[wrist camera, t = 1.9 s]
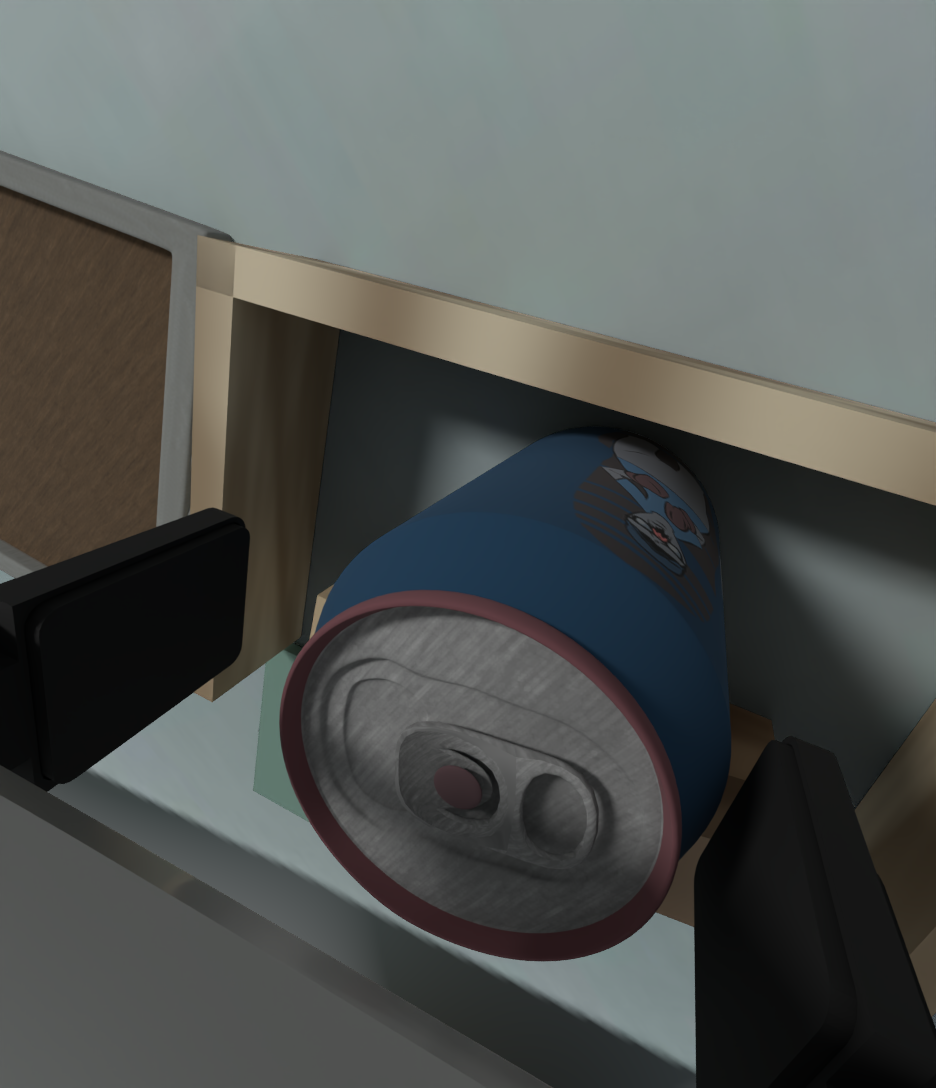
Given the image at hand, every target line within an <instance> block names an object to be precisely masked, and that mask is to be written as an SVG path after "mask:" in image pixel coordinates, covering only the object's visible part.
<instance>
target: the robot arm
mask: <svg viewBox="0 0 936 1088" xmlns="http://www.w3.org/2000/svg"><path fill="white" fill-rule="evenodd" d="M249 547H250V533H249V531H248V530H247V529H246V527H245V523H244V521H243V520H242V519H241V518H240V517H237V516H235V515H232V514H230V513H227V512H225V511H222V510H220V509H217V508H213V507H212V508H207V509H204V510H202V511H199V512H196V513H193V514H191V515H188V516H185V517H182V518H180V519H177V520H174V521H171V522H169V523H166V524H163V525H160V526H158V527H155V528H152V529H149V530H147V531H144V532H141V533H139V534H136V535H133V536H130V537H128V538H125V539H122V540H119V541H117V542H114V543H111V544H108V545H106V546H103V547H100V548H97V549H95V550H92V551H89V552H86V553H84V554H81V555H78V556H76V557H73V558H70V559H67V560H65V561H62V562H59V563H56V564H54V565H51V566H48V567H45V568H43V569H40V570H37V571H34V572H32V573H29V574H26V575H23V576H21V577H18V578H15V579H13V580H10V581H7V582H4V583H2V584H0V1088H552V1087H551V1086H549V1085H547V1084H546V1083H544V1082H542V1081H541V1080H539V1079H537V1078H536V1077H534V1076H532V1075H531V1074H529V1073H527V1072H526V1071H524V1070H522V1069H520V1068H519V1067H517V1066H515V1065H513V1064H512V1063H510V1062H509V1061H507V1060H505V1059H503V1058H502V1057H500V1056H498V1055H497V1054H495V1053H493V1052H492V1051H490V1050H488V1049H486V1048H485V1047H483V1046H481V1045H480V1044H478V1043H476V1042H475V1041H473V1040H471V1039H470V1038H468V1037H466V1036H464V1035H463V1034H461V1033H459V1032H458V1031H456V1030H454V1029H452V1028H451V1027H449V1026H448V1025H446V1024H444V1023H443V1022H441V1021H439V1020H437V1019H436V1018H434V1017H432V1016H431V1015H429V1014H427V1013H426V1012H424V1011H422V1010H420V1009H419V1008H417V1007H415V1006H414V1005H412V1004H410V1003H409V1002H407V1001H405V1000H404V999H402V998H400V997H398V996H397V995H395V994H393V993H392V992H390V991H388V990H387V989H385V988H383V987H381V986H380V985H378V984H376V983H375V982H373V981H371V980H370V979H368V978H366V977H365V976H363V975H361V974H359V973H358V972H356V971H354V970H353V969H351V968H349V967H347V966H346V965H344V964H343V963H341V962H339V961H337V960H336V959H334V958H332V957H331V956H329V955H327V954H325V953H324V952H322V951H320V950H319V949H317V948H315V947H313V946H312V945H310V944H308V943H307V942H305V941H303V940H301V939H300V938H298V937H296V936H294V935H293V934H291V933H289V932H288V931H286V930H284V929H283V928H281V927H279V926H277V925H275V924H274V923H272V922H271V921H269V920H267V919H266V918H264V917H262V916H260V915H259V914H257V913H255V912H253V911H252V910H250V909H248V908H247V907H245V906H243V905H241V904H240V903H238V902H236V901H235V900H233V899H231V898H230V897H228V896H226V895H224V894H223V893H221V892H219V891H217V890H216V889H214V888H212V887H211V886H209V885H207V884H205V883H204V882H202V881H200V880H198V879H197V878H195V877H193V876H192V875H190V874H188V873H187V872H185V871H183V870H181V869H180V868H178V867H176V866H174V865H173V864H171V863H169V862H168V861H166V860H164V859H162V858H160V857H159V856H157V855H156V854H154V853H152V852H150V851H149V850H147V849H145V848H144V847H142V846H140V845H138V844H137V843H135V842H133V841H131V840H130V839H128V838H126V837H125V836H123V835H121V834H119V833H117V832H115V831H114V830H112V829H110V828H109V827H107V826H105V825H104V824H102V823H100V822H98V821H97V820H95V819H93V818H91V817H90V816H88V815H86V814H84V813H83V812H81V811H79V810H78V809H76V808H74V807H72V806H71V805H69V804H67V803H65V802H64V801H62V800H60V799H58V798H57V797H55V796H53V795H51V794H50V793H48V792H47V791H49V790H50V789H52V788H53V787H54V786H56V785H57V784H65V783H67V782H70V781H72V780H73V779H75V778H77V777H78V776H79V775H81V774H82V773H83V772H85V771H86V770H88V769H89V768H90V767H92V766H93V765H94V764H96V763H97V762H99V761H100V760H101V759H103V758H104V757H105V756H107V755H108V754H110V753H111V752H112V751H114V750H115V749H116V748H118V747H119V746H121V745H122V744H123V743H125V742H126V741H127V740H129V739H130V738H132V737H133V736H134V735H136V734H137V733H138V732H140V731H141V730H143V729H144V728H145V727H147V726H148V725H149V724H151V723H152V722H154V721H155V720H156V719H158V718H159V717H160V716H162V715H163V714H165V713H166V712H167V711H169V710H170V709H171V708H173V707H174V706H176V705H177V704H178V703H180V702H181V701H182V700H184V699H185V698H187V697H188V696H189V695H191V694H192V693H193V692H195V691H196V690H197V689H199V688H200V687H202V686H203V685H204V684H206V683H207V682H208V681H210V680H211V679H213V678H214V677H215V676H217V675H218V674H219V673H221V672H222V671H224V670H225V669H226V668H228V667H229V666H230V665H232V664H233V663H234V662H235V660H236V659H237V658H238V656H239V654H240V652H241V649H242V641H243V627H244V614H245V600H246V587H247V574H248V560H249ZM694 939H695V1017H696V1088H936V1028H935V1025H934V1023H933V1020H932V1017H931V1014H930V1011H929V1009H928V1006H927V1003H926V1000H925V997H924V995H923V992H922V989H921V986H920V984H919V981H918V978H917V975H916V972H915V970H914V967H913V964H912V961H911V958H910V956H909V953H908V950H907V947H906V944H905V942H904V939H903V936H902V933H901V930H900V928H899V925H898V922H897V919H896V916H895V914H894V911H893V908H892V905H891V903H890V900H889V897H888V894H887V891H886V889H885V886H884V884H883V882H882V880H881V878H880V876H879V875H878V874H877V873H876V870H875V867H874V864H873V861H872V859H871V856H870V853H869V850H868V847H867V844H866V841H865V839H864V836H863V833H862V830H861V827H860V824H859V822H858V819H857V816H856V813H855V810H854V807H853V805H852V802H851V799H850V796H849V793H848V790H847V787H846V785H845V782H844V779H843V776H842V773H841V770H840V768H839V765H838V762H837V759H836V757H835V755H834V754H833V753H832V752H830V751H827V750H825V749H822V748H820V747H817V746H815V745H812V744H810V743H807V742H805V741H802V740H800V739H797V738H795V737H792V736H790V737H787V738H786V739H785V740H783V742H782V743H781V742H778V741H776V740H771V741H770V742H769V743H768V744H767V745H766V747H765V748H764V750H763V752H762V753H761V755H760V757H759V758H758V760H757V762H756V763H755V765H754V767H753V768H752V770H751V772H750V774H749V775H748V777H747V779H746V780H745V782H744V784H743V785H742V787H741V789H740V790H739V792H738V794H737V795H736V797H735V799H734V800H733V802H732V804H731V805H730V807H729V809H728V810H727V812H726V814H725V815H724V817H723V819H722V821H721V822H720V824H719V826H718V827H717V829H716V831H715V832H714V834H713V836H712V837H711V839H710V841H709V842H708V844H707V846H706V847H705V849H704V851H703V852H702V854H701V856H700V858H699V860H698V863H697V866H696V870H695V875H694Z"/></svg>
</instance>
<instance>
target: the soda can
mask: <svg viewBox="0 0 936 1088" xmlns="http://www.w3.org/2000/svg"><path fill="white" fill-rule="evenodd" d="M279 728H280V741H281V748H282V753H283V758H284V762H285V766H286V770H287V773H288V776H289V779H290V782H291V785H292V787H293V790H294V792H295V795H296V797H297V799H298V801H299V803H300V805H301V807H302V809H303V811H304V813H305V815H306V817H307V818H308V820H309V822H310V823H311V825H312V827H313V828H314V830H315V831H316V833H317V834H318V836H319V837H320V839H321V840H322V841H323V843H324V844H325V845H326V847H327V848H328V849H329V851H330V852H331V853H332V854H333V856H334V857H335V858H336V859H337V860H338V861H339V863H340V864H341V865H342V866H343V867H344V868H345V869H346V870H347V872H348V873H349V874H350V875H351V876H352V877H353V878H354V879H355V880H356V881H357V882H358V883H359V884H360V885H361V886H362V887H363V888H364V889H366V890H367V891H368V892H369V893H370V894H371V895H372V896H373V897H374V898H376V899H377V900H378V901H379V902H380V903H382V904H383V905H384V906H385V907H387V908H388V909H390V910H391V911H392V912H394V913H395V914H397V915H398V916H400V917H401V918H403V919H404V920H406V921H408V922H410V923H411V924H413V925H415V926H417V927H419V928H421V929H423V930H425V931H427V932H429V933H431V934H433V935H435V936H437V937H440V938H442V939H444V940H447V941H449V942H452V943H454V944H457V945H460V946H463V947H466V948H468V949H471V950H475V951H478V952H482V953H485V954H489V955H494V956H498V957H503V958H509V959H516V960H525V961H560V960H569V959H575V958H580V957H585V956H588V955H592V954H595V953H598V952H601V951H604V950H606V949H609V948H611V947H613V946H615V945H617V944H619V943H621V942H622V941H624V940H625V939H627V938H629V937H630V936H632V935H633V934H634V933H635V932H637V931H638V930H639V929H640V928H642V927H643V926H644V925H645V924H646V923H647V922H648V920H649V919H650V918H651V917H652V916H653V915H654V914H655V912H656V911H657V910H658V908H659V907H660V906H661V904H662V902H663V901H664V899H665V897H666V896H667V894H668V891H669V889H670V887H671V885H672V882H673V879H674V876H675V873H676V869H677V866H678V861H679V860H680V859H681V858H682V857H683V856H684V855H685V854H686V853H687V852H688V851H689V849H690V848H691V847H692V846H693V845H694V844H695V843H696V842H697V840H698V839H699V838H700V836H701V835H702V834H703V832H704V831H705V830H706V828H707V827H708V825H709V823H710V822H711V820H712V818H713V817H714V815H715V813H716V811H717V809H718V806H719V804H720V802H721V799H722V796H723V793H724V790H725V787H726V784H727V779H728V775H729V770H730V761H731V724H730V707H729V691H728V674H727V657H726V641H725V624H724V608H723V591H722V574H721V558H720V541H719V530H718V524H717V519H716V516H715V512H714V509H713V506H712V504H711V501H710V499H709V497H708V495H707V493H706V491H705V489H704V488H703V486H702V484H701V483H700V481H699V480H698V479H697V477H696V476H695V474H694V473H693V472H692V471H691V470H690V469H689V467H688V466H687V465H686V464H685V463H684V462H683V461H682V460H680V459H679V458H678V457H677V456H676V455H674V454H673V453H672V452H670V451H669V450H668V449H666V448H665V447H663V446H661V445H660V444H658V443H656V442H655V441H653V440H650V439H648V438H646V437H644V436H641V435H639V434H636V433H633V432H630V431H626V430H621V429H617V428H610V427H579V428H573V429H567V430H564V431H560V432H557V433H554V434H551V435H548V436H546V437H544V438H542V439H540V440H538V441H536V442H534V443H533V444H531V445H529V446H528V447H526V448H524V449H523V450H521V451H520V452H518V453H516V454H515V455H513V456H511V457H510V458H508V459H506V460H505V461H503V462H502V463H500V464H498V465H497V466H495V467H493V468H492V469H490V470H489V471H487V472H485V473H484V474H482V475H480V476H479V477H477V478H476V479H474V480H472V481H471V482H469V483H467V484H466V485H464V486H463V487H461V488H459V489H458V490H456V491H454V492H453V493H451V494H450V495H448V496H446V497H445V498H443V499H441V500H440V501H438V502H437V503H435V504H433V505H432V506H430V507H428V508H427V509H425V510H424V511H422V512H420V513H419V514H417V515H415V516H414V517H412V518H411V519H409V520H407V521H406V522H404V523H402V524H401V525H399V526H398V527H396V528H394V529H393V530H391V531H389V532H388V533H386V534H385V535H383V536H381V537H380V538H378V539H377V540H375V541H374V542H372V543H371V544H370V545H369V546H367V547H366V548H365V549H364V550H362V551H361V552H360V553H359V554H358V555H357V556H356V557H355V558H354V559H353V560H352V561H351V562H350V563H349V565H348V566H347V567H346V568H345V569H344V571H343V572H342V573H341V575H340V576H339V578H338V579H337V581H336V582H335V584H334V586H333V587H332V589H331V591H330V593H329V595H328V597H327V599H326V602H325V604H324V606H323V609H322V612H321V615H320V618H319V621H318V624H317V627H316V630H315V634H314V635H313V636H312V637H311V638H310V640H309V641H308V642H307V643H306V644H305V645H304V647H303V648H302V650H301V651H300V652H299V654H298V655H297V657H296V659H295V661H294V663H293V664H292V667H291V669H290V671H289V674H288V676H287V679H286V682H285V685H284V688H283V693H282V698H281V705H280V716H279Z"/></svg>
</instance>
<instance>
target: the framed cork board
mask: <svg viewBox="0 0 936 1088" xmlns="http://www.w3.org/2000/svg"><path fill="white" fill-rule="evenodd" d="M197 235H200V236H205V237H210V238H214V239H219V240H224V241H229V242H231V237H230V235H228V234H226V233H224V232H221V231H219V230H216V229H214V228H211V227H208V226H206V225H203V224H200V223H197V222H195V221H192V220H189V219H186V218H184V217H181V216H178V215H175V214H173V213H170V212H167V211H165V210H162V209H159V208H156V207H154V206H151V205H148V204H145V203H143V202H140V201H137V200H134V199H132V198H129V197H126V196H123V195H121V194H118V193H115V192H112V191H110V190H107V189H104V188H102V187H99V186H96V185H93V184H91V183H88V182H85V181H82V180H80V179H77V178H74V177H71V176H69V175H66V174H63V173H60V172H58V171H55V170H52V169H49V168H47V167H44V166H41V165H39V164H36V163H33V162H30V161H28V160H25V159H22V158H19V157H17V156H14V155H11V154H8V153H6V152H3V151H0V570H2V571H4V572H5V573H7V574H9V575H10V576H12V577H14V578H18V577H21V576H23V575H26V574H29V573H32V572H34V571H37V570H40V569H43V568H45V567H48V566H51V565H54V564H56V563H59V562H62V561H65V560H67V559H70V558H73V557H76V556H78V555H81V554H84V553H86V552H89V551H92V550H95V549H97V548H100V547H103V546H106V545H108V544H111V543H114V542H117V541H119V540H122V539H125V538H128V537H130V536H133V535H136V534H139V533H141V532H144V531H147V530H149V529H152V528H155V527H158V526H160V525H163V524H166V523H169V522H171V521H174V520H177V519H180V518H182V517H185V516H188V515H190V504H191V465H192V427H193V388H194V350H195V312H196V273H197Z"/></svg>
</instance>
